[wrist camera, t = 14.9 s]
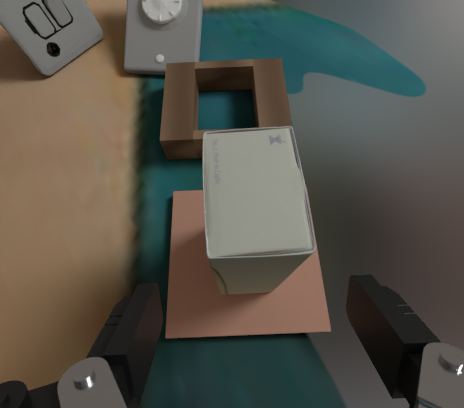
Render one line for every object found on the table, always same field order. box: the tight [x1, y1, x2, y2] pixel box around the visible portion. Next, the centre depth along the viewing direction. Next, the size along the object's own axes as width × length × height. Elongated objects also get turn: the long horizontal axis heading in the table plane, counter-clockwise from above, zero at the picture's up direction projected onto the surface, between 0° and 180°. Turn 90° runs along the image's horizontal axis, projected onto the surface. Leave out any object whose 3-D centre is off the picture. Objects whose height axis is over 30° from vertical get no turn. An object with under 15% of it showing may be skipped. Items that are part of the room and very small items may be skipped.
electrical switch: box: [0, 0, 103, 76], centre depth 31 cm, size 9×5×9 cm, turn 143°
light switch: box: [124, 0, 203, 75], centre depth 34 cm, size 8×6×14 cm
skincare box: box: [202, 126, 316, 295], centre depth 17 cm, size 6×4×12 cm
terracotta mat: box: [165, 187, 331, 338], centre depth 23 cm, size 12×12×1 cm
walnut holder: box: [160, 58, 292, 160], centre depth 29 cm, size 12×10×3 cm
